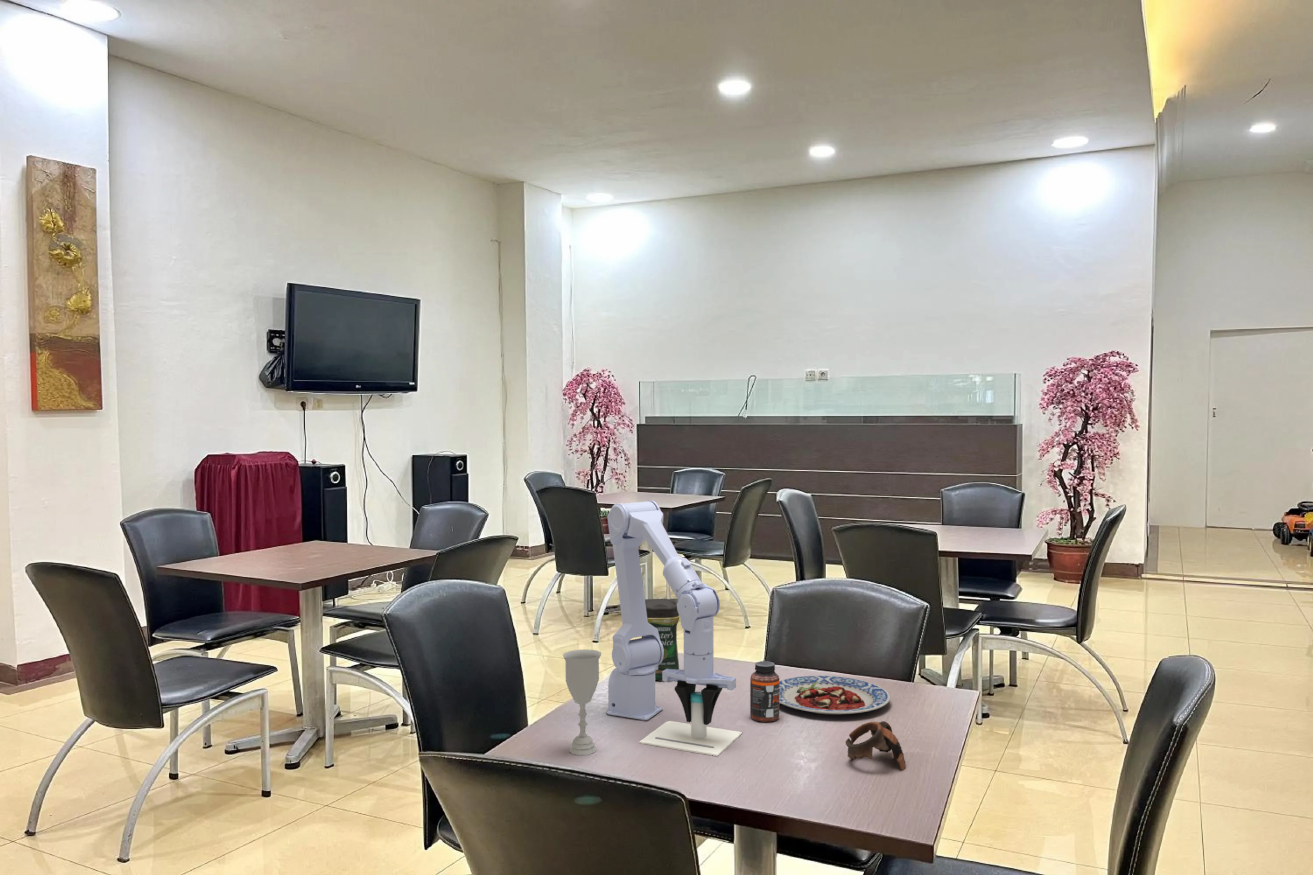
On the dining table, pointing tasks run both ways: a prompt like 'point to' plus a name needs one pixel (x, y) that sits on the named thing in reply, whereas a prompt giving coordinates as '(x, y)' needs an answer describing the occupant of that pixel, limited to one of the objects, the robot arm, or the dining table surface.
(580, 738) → the chalice
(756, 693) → the supplement bottle
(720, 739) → the paper
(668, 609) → the coffee jar
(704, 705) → the robot arm
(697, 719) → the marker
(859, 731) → the brown curved ring piece
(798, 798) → the dining table surface
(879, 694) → the ceramic plate
